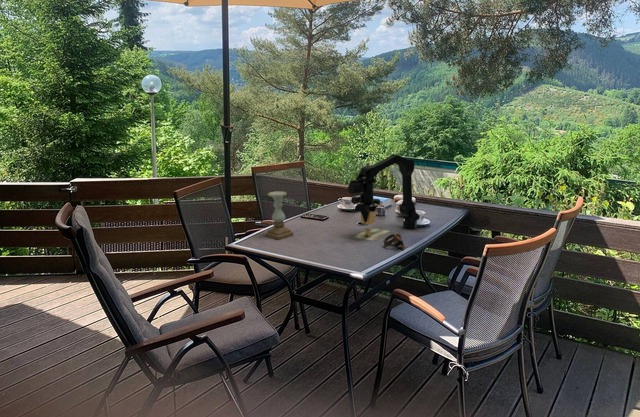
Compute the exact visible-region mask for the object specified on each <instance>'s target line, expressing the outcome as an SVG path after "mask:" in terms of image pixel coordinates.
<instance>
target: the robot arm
mask: <svg viewBox="0 0 640 417" xmlns="http://www.w3.org/2000/svg"><path fill="white" fill-rule="evenodd" d="M393 165H396V166H398V171H399V172H400V174H401V178H402V180H401V181H402V182H401V183H402V202H401V204H399V205H398V207H399V209H398V210H399V211H398V212H399V213H400V215H401V217H402V218H403V222H402V223H403V229H406V230H417V229H418V221H419V220H420V217H421V216H420V214H419V213H418V212H417V210H416V205H415V203H414V202H413V187H412V186H413V182H412V180H413V179H412V175H413V173H414V171H415V161H414V160H413V159H412V158H411V159H410V158H406V157H402V156H401V155H400V154H393V153H392V154H391V155H389V156H388V157H386V158H383V159H381V160H380V161H378V162H376V163H375V164H369V165H366V166H363V167H361V168H360V171H359V174H358V175H357V177H356V179H355V180H353V179H351V180H350V183H348V186H347V190H348V193H349V194H350V195H354V194H355V195H356V194H360V195H359V196H352V197H350V198H351V199H350V202H351V203H352V204H353V206H354V205H355V206H354V211H357V212H360V215H361V214H362V216H363V219H364V222H367V220H368V216H369V213H370V211H373V212H375V213H376V211H377V209H378V207H379V205H381V199H380V198H374V196H375V195H376V194H375V192H374V183H378V181H377V180H376V179H375V177H377V176H378V175H379V173H380V172H381V171H384V170H385V169H387V168H389V167H391V166H393Z"/></svg>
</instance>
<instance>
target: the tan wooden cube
mask: <svg viewBox="0 0 640 417" xmlns="http://www.w3.org/2000/svg"><path fill="white" fill-rule="evenodd" d="M375 213H376V211H375V212H373V211H370V213H369V216H368V220H367V222H364V219H363V216H362V214H361V213H360V224H363V225H365V224H366V225H372V224H374V223H375V222H376V218H375V217H376V214H375Z"/></svg>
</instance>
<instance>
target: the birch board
mask: <svg viewBox="0 0 640 417" xmlns="http://www.w3.org/2000/svg"><path fill="white" fill-rule="evenodd" d="M367 229H370V237H365V230H363V231H361V232H360V233H358V234H356V235H354V236H353V237H352V238H353V239H359V240H360V239H361V240H367V241H374V242H376V241H377V240H379V239H380V238H382V237H384V236H385V235H387V234H388V233H389V232H390V233H391V230H387V229H380V228H372V227H368V228H367Z"/></svg>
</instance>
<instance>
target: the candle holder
mask: <svg viewBox="0 0 640 417" xmlns="http://www.w3.org/2000/svg"><path fill="white" fill-rule="evenodd" d="M267 195H268V197H271V198H272V199H273V201H274V202H273V205H272V206H273V207H274V211H273V213H272V214H271V220H272V221H273V222H272V225H273V227H272V228H270V229H268V230H267V232H266V233H265V237H266V238H270V239H273V240H277V241H279V240H284V239H287V238H290V237H293V236H294V232H292V229H290V228H287V227H286V226H285V222H284V221H285V220H286V214H285V213H284V211H283V210H282V207H283V206H284V204H283V203H282V199H283V197H285V196H287V195H288V193H287V191H282V190H278V191H277V190H276V191H275V190H274V191H270V192H268V193H267Z"/></svg>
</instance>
